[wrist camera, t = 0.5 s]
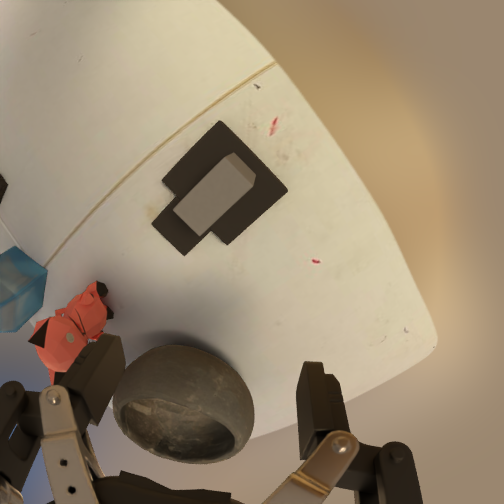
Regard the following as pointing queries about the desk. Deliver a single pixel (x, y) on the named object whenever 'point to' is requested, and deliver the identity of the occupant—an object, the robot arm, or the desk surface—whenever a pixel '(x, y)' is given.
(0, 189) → the notch pad
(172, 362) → the bowl
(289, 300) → the desk surface
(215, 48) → the desk surface
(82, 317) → the cat figurine
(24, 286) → the perfume bottle
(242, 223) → the tab pad
